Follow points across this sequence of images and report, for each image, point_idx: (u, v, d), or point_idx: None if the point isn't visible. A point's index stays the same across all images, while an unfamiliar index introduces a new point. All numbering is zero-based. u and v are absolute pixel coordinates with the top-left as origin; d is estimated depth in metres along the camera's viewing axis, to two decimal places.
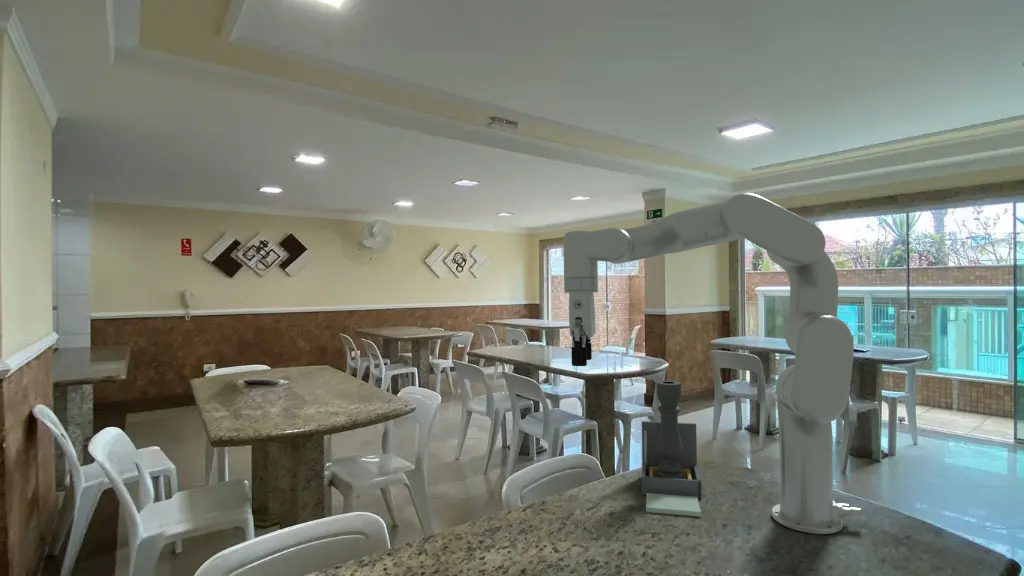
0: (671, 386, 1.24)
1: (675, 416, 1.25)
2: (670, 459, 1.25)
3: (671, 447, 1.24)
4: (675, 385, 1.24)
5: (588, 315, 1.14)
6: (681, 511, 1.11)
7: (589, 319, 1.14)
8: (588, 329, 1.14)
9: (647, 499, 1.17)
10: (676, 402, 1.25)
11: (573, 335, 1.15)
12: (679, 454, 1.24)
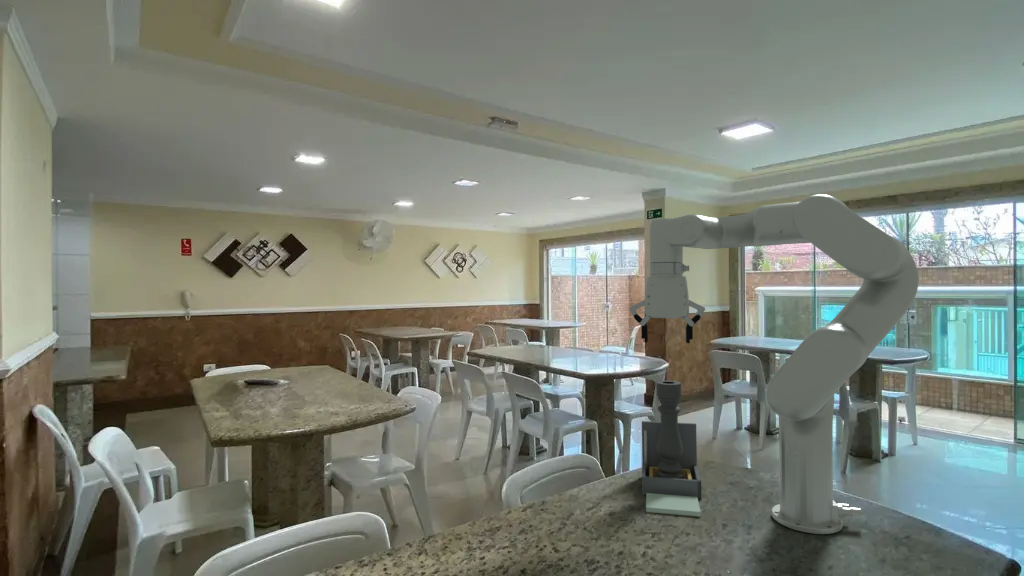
0: (671, 386, 1.24)
1: (675, 416, 1.25)
2: (670, 459, 1.25)
3: (671, 447, 1.24)
4: (675, 385, 1.24)
5: None
6: (681, 511, 1.11)
7: None
8: None
9: (647, 499, 1.17)
10: (676, 402, 1.25)
11: (687, 315, 1.25)
12: (679, 454, 1.24)
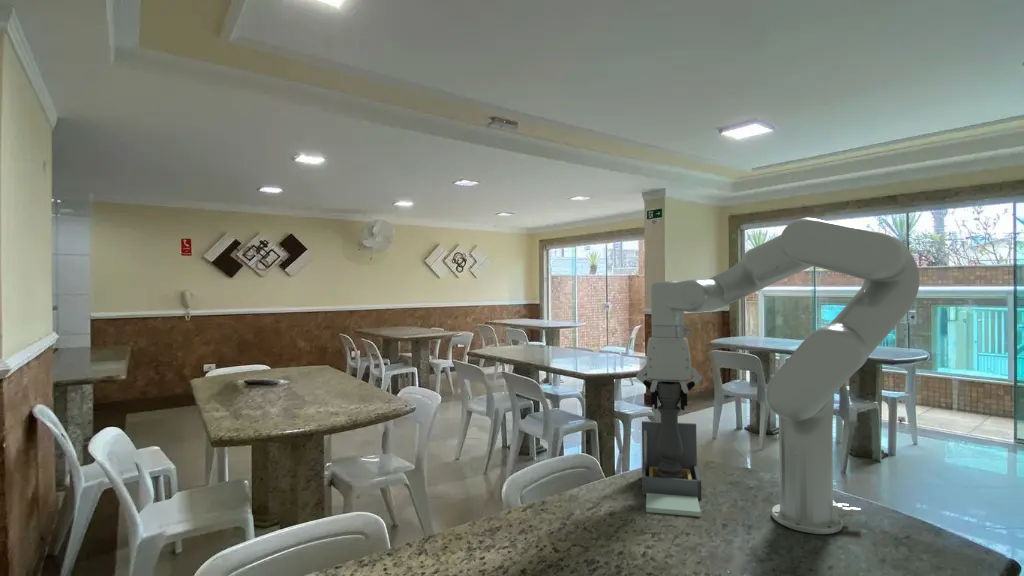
0: (671, 386, 1.24)
1: (675, 416, 1.25)
2: (670, 459, 1.25)
3: (671, 447, 1.24)
4: (675, 385, 1.24)
5: None
6: (681, 511, 1.11)
7: None
8: None
9: (647, 499, 1.17)
10: (676, 402, 1.25)
11: None
12: (679, 454, 1.24)
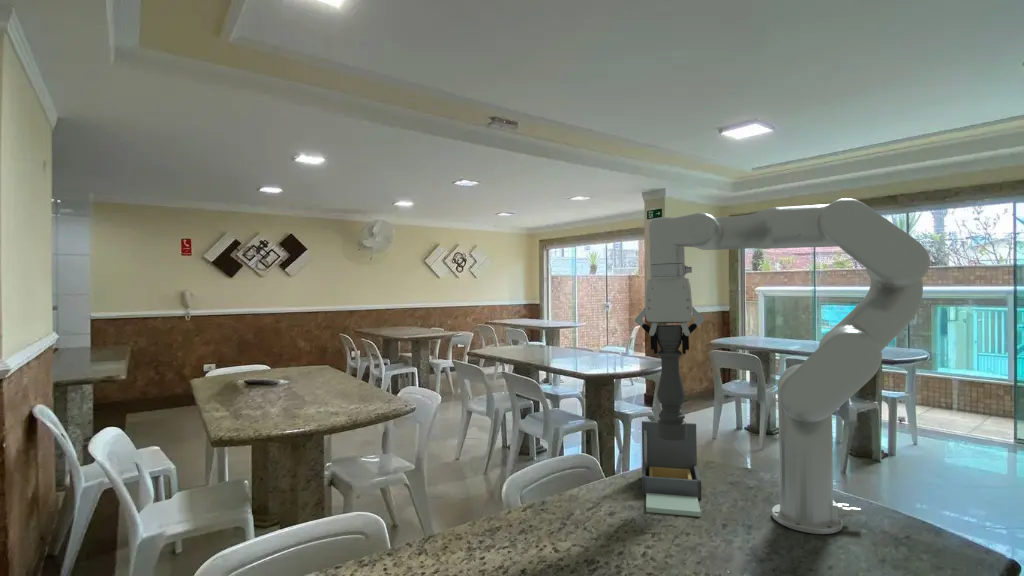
0: (671, 328, 1.17)
1: (676, 360, 1.18)
2: (671, 406, 1.17)
3: (672, 392, 1.17)
4: (675, 327, 1.17)
5: None
6: (681, 511, 1.11)
7: None
8: None
9: (647, 499, 1.17)
10: (677, 345, 1.18)
11: None
12: (681, 400, 1.17)
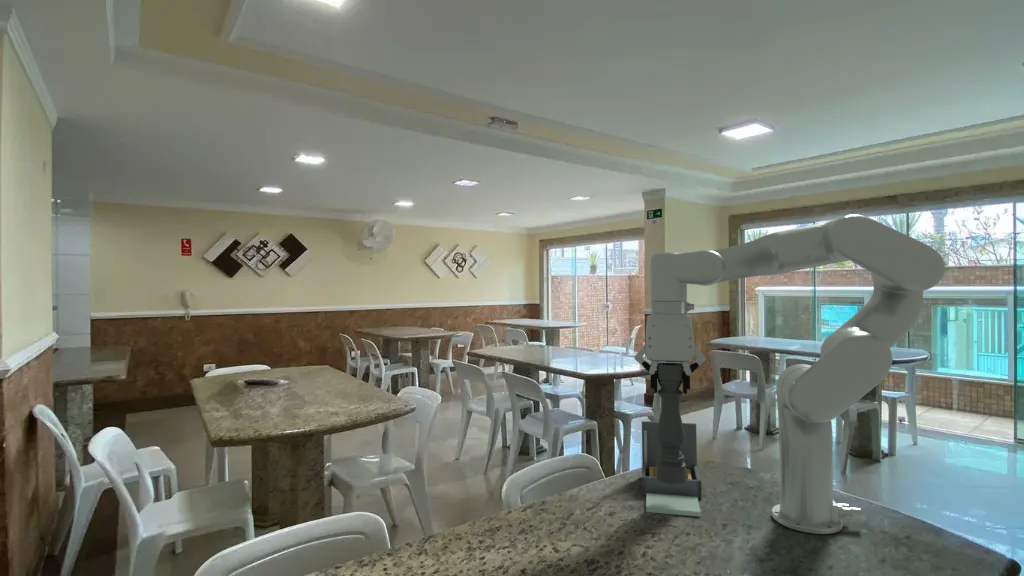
0: (672, 367, 1.13)
1: (677, 400, 1.14)
2: (671, 448, 1.14)
3: (673, 434, 1.13)
4: (677, 366, 1.13)
5: None
6: (681, 511, 1.11)
7: None
8: None
9: (647, 499, 1.17)
10: (678, 385, 1.14)
11: None
12: (681, 442, 1.13)
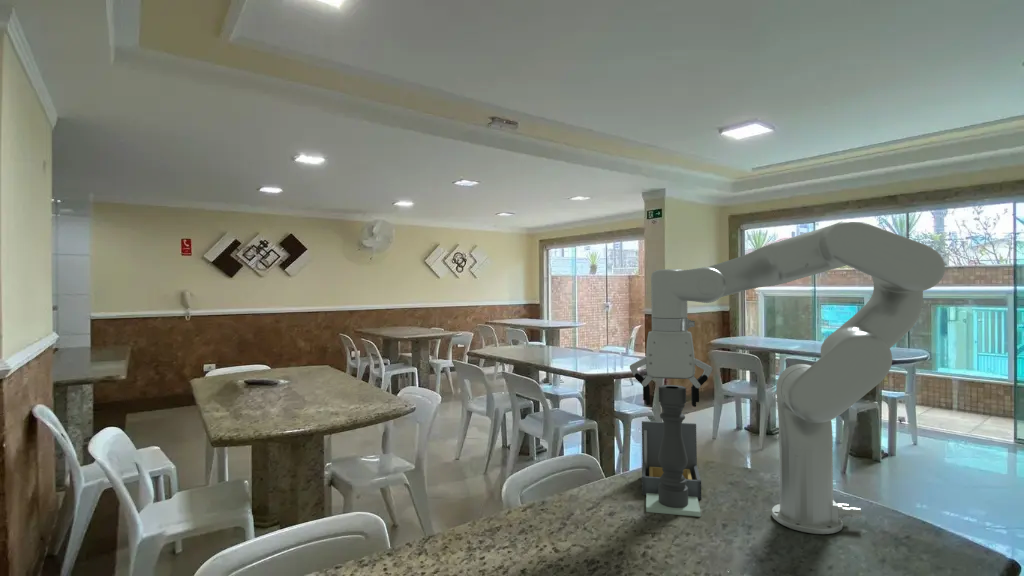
0: (675, 391, 1.13)
1: (679, 424, 1.14)
2: (673, 471, 1.13)
3: (675, 458, 1.13)
4: (679, 390, 1.13)
5: None
6: (681, 511, 1.11)
7: None
8: None
9: (647, 499, 1.17)
10: (680, 409, 1.14)
11: (693, 376, 1.13)
12: (683, 466, 1.13)
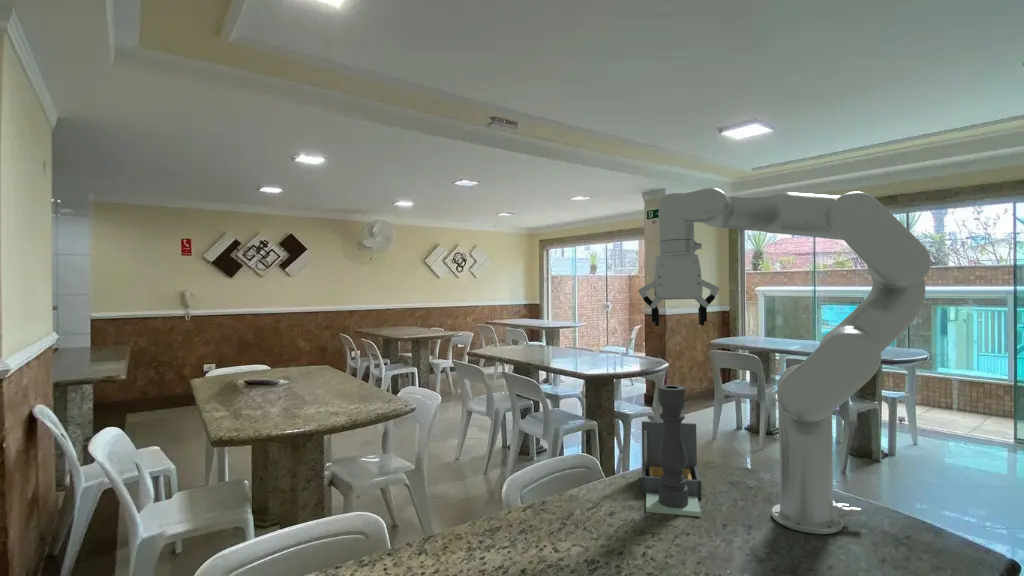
0: (675, 391, 1.13)
1: (679, 424, 1.14)
2: (673, 471, 1.13)
3: (675, 458, 1.13)
4: (679, 390, 1.13)
5: None
6: (681, 511, 1.11)
7: None
8: None
9: (647, 499, 1.17)
10: (680, 409, 1.14)
11: None
12: (683, 466, 1.13)
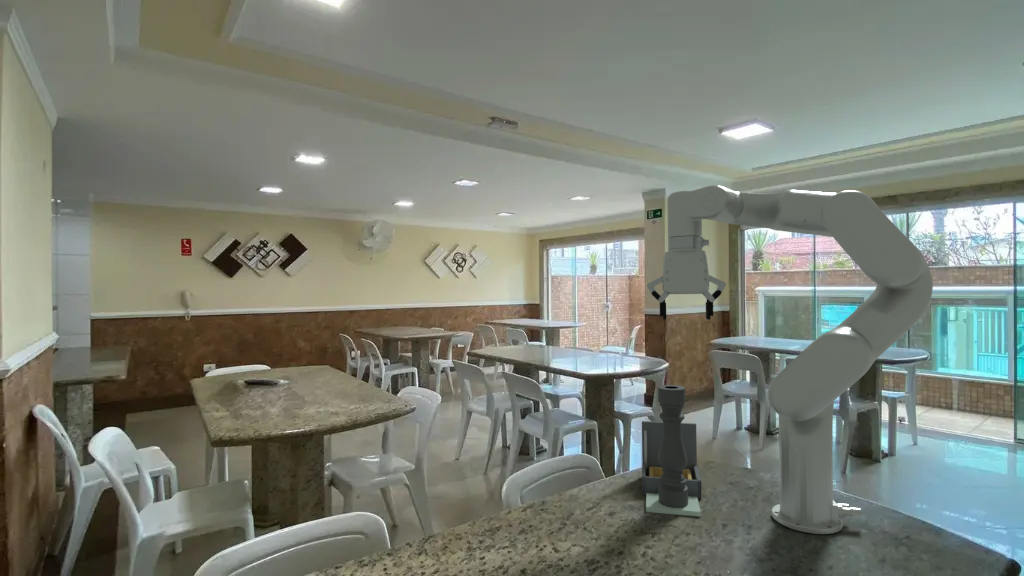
0: (674, 391, 1.13)
1: (679, 424, 1.14)
2: (673, 472, 1.13)
3: (675, 458, 1.13)
4: (679, 390, 1.13)
5: None
6: (681, 511, 1.11)
7: None
8: None
9: (647, 499, 1.17)
10: (680, 409, 1.14)
11: (708, 290, 1.20)
12: (683, 466, 1.13)
